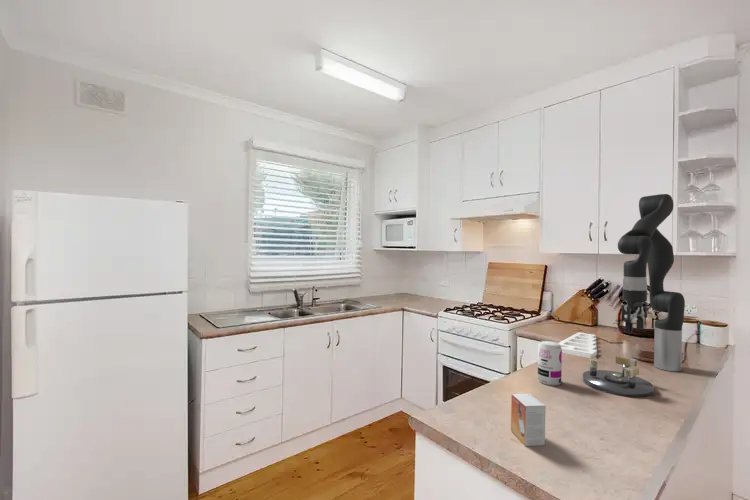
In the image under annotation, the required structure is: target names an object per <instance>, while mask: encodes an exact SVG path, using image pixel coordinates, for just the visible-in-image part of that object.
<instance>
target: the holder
mask: <svg viewBox="0 0 750 500" xmlns="http://www.w3.org/2000/svg"><path fill="white" fill-rule="evenodd" d="M558 343H559V344H560V346H561V348H562V352H563V353H562V354H568V355H572V356H578V357H582V358H587V359H590V356H595V357H597V355H598V347H597V346H598V345H597V335H596V334H591V333H586V332H579V331H578V332H576V333H574V334H573V335H570V336H569V337H567V338H565V339H563V340H561V341H559V342H558Z"/></svg>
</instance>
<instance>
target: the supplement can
mask: <svg viewBox="0 0 750 500" xmlns="http://www.w3.org/2000/svg"><path fill="white" fill-rule="evenodd" d="M562 354H563V353H562V348H561V346H560V344H559V342H557V341H552V340H551V341H550V340H541V341H539V343H538V345H537V380H538V381H539V383H542V384H544V385H545V386H547V385H548V386H553V387H555V386H560V384H561V383H562V372H563V371H562V369H563V368H562V363H563V362H562V357H563V355H562Z"/></svg>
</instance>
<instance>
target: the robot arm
mask: <svg viewBox="0 0 750 500" xmlns="http://www.w3.org/2000/svg"><path fill="white" fill-rule="evenodd" d="M673 210H674V200H673V197H672V196H671V195H670V194H668V193H663V194H662V193H660V194H654V195H647V196H646V195H645V196H641V198H639V199H638V211H639V216H640V219H639V220H637V221H636V222H635V224H634V225H633V227H632V229H631V230H629V231H628V232H626V233H625V234H623V235H622V236H621V237H620V238H619V240H618V242H617V250H618V251H619V252H620V253H621V254H623V255H636V256H637V255H638V257H637V258H636V259H633V260H628V261H625V262H624V263H623V279H622V300H623V301H624V302H626V304H622V305H621V321H622V322H624V323H625V324H624V326H625V327H624V328H625V329H624V331H625V333H629V334H632V333H633V330H634V324H633V322H634V319H636V320H635V322H636V324H635V325H636V330H638V331H639V330H640V331H643V330H644V329H645V325H644V324H645V320H646V319H648V304H647V301H648V283H649V302H650V306H651V308H652V310H654V311H656V312H660V313H666V314H667V317H665V318H662V319H657V320H655V321H654V337H653V338H654V340H653V341H654V349H653V352H654V353H653V358H654V359H653V366H654V367H655V368H656V369H659V370H663V371H668V372H681V371H682V363H683V362H682V357H683V355H682V354H683V346H682V345H683V343H682V342H683V325H684V320H685V319H684V318H685V307H686V305H685V304H686V302H685V301H686V300H685V297H684V295H683V294H682V293H680V292H678V291H677V292H676V291H669V290H668V291H667V290H665V289H664V280H665V278H666V276H667V275H668V273H669V272H670V270H671V268H672V266H673V264H674V262H675V256H674V248H673V245H672V244H671V242H670V241H669V239H667V237H665V235H664V234H662V232H661V231H659V229H658V227H659V226H660V225H661V224H662V223H663V222H664V221H665V220H666V219H667V218H668V217H669V216H670V215H671V214H672V212H673ZM647 268H648V277H649V278H648V279H647ZM647 280H649V281H647Z"/></svg>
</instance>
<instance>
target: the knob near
mask: <svg viewBox="0 0 750 500" xmlns="http://www.w3.org/2000/svg"><path fill="white" fill-rule="evenodd" d="M615 364H617V365H622V372H621V373H622V374H623V375H624V368H628V367H630V366H636V367H638V360H637V359H634V358H630V357H625V356H621V355H617V356H615Z"/></svg>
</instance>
